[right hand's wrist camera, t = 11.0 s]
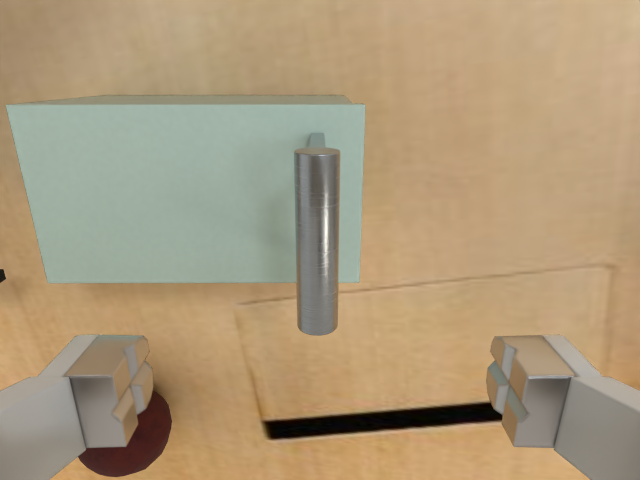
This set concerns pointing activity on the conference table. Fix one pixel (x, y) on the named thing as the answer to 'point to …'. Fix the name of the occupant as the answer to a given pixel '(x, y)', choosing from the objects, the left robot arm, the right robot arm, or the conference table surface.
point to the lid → (198, 195)
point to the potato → (134, 443)
